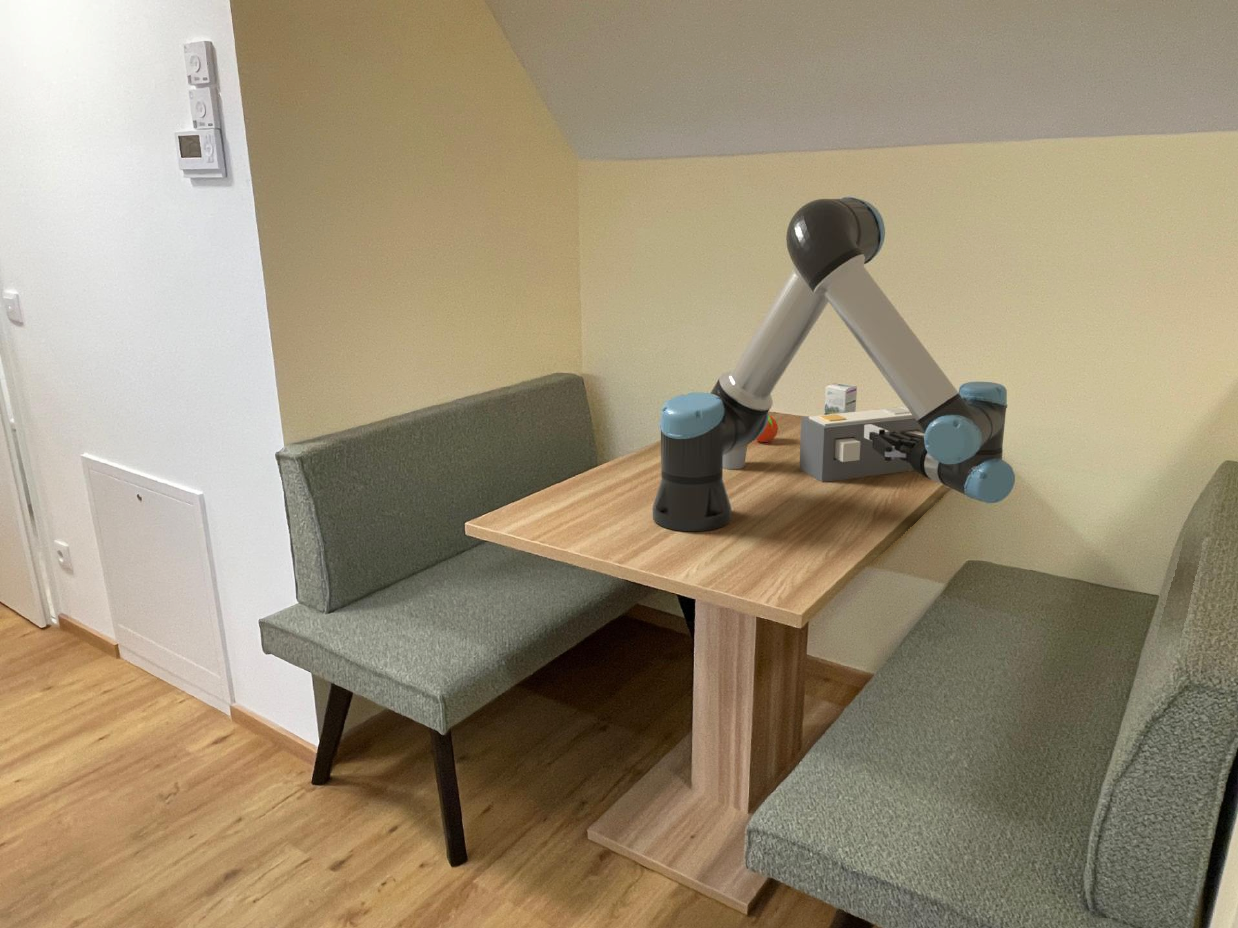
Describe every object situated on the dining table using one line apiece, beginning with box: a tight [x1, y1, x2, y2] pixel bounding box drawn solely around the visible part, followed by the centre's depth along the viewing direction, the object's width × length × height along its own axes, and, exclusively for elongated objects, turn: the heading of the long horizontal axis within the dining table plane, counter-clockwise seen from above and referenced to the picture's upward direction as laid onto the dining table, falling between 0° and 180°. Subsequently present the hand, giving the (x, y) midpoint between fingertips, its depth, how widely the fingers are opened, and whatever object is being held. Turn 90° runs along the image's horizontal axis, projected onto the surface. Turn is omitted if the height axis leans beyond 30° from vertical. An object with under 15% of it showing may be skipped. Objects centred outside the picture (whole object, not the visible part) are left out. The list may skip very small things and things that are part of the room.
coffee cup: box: [723, 444, 749, 470], centre depth 200 cm, size 9×9×15 cm
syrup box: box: [823, 382, 858, 415], centre depth 216 cm, size 6×6×14 cm
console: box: [798, 406, 925, 483], centre depth 196 cm, size 10×26×13 cm, turn 107°
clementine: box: [754, 415, 779, 443], centre depth 219 cm, size 8×7×7 cm
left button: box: [834, 437, 860, 462], centre depth 188 cm, size 6×4×4 cm
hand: (867, 430), depth 180 cm, fingers closed
